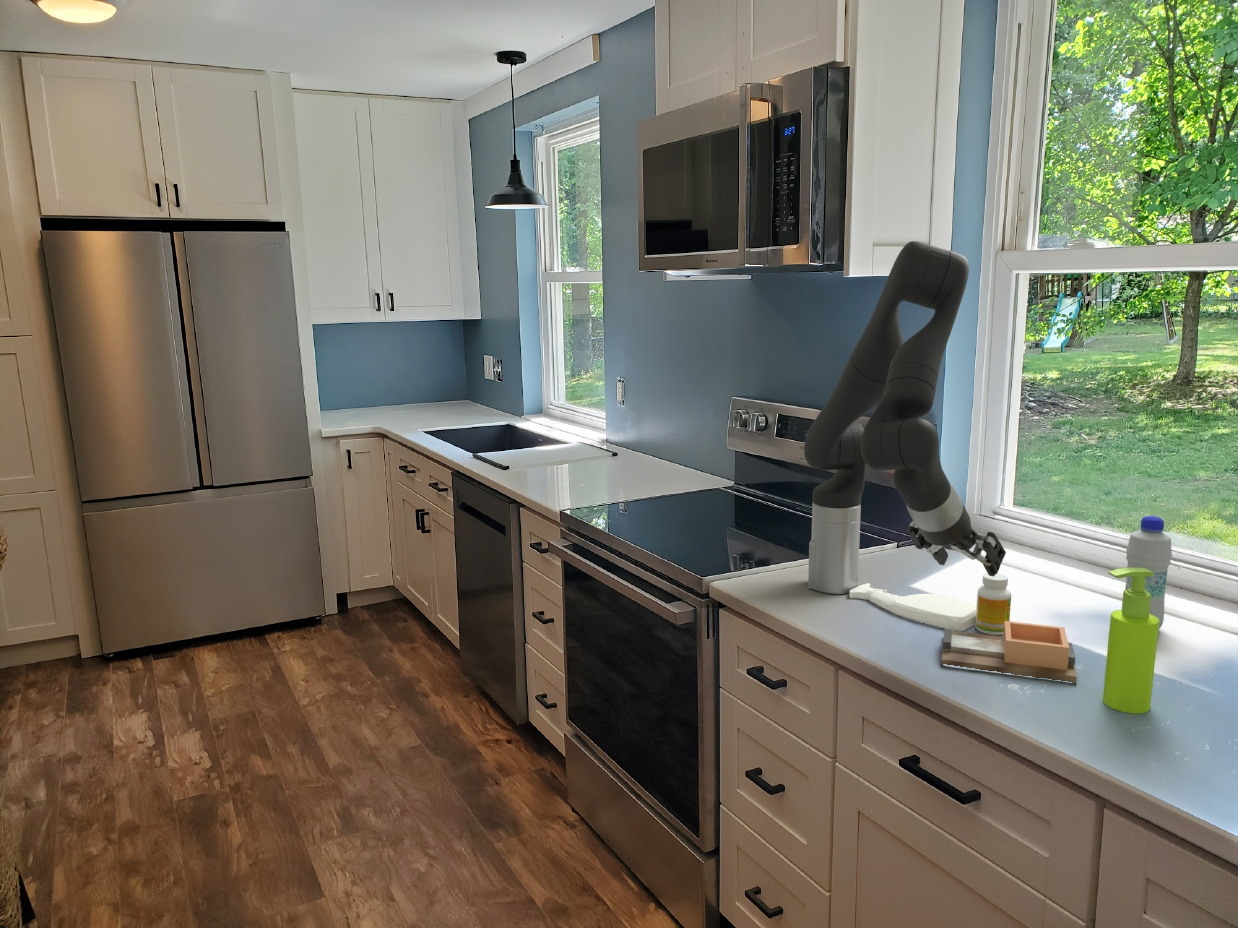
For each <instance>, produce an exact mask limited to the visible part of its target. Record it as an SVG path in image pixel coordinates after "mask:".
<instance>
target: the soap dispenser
mask: <svg viewBox="0 0 1238 928" xmlns="http://www.w3.org/2000/svg"><path fill="white" fill-rule="evenodd" d="M1107 573H1108V574H1109V575H1111V577H1114V578H1116V579H1122V578H1126V577H1128V576H1132V580H1131V588H1129V589H1126V590H1125V589H1124V590H1123V592H1122V601H1121V609H1118V610H1117V609H1116V610H1113V611H1112V612H1111V613H1110V621H1109V629H1108V641H1107V649H1106V650H1107V652H1106V662H1105V673H1104V683H1103V684H1104V685H1103V693H1102V694H1103V696H1102V702H1103V701H1104V702H1103V703H1104V704H1105V705H1106V704H1107V705H1106V706H1107V707H1109V708H1111V709H1113V710H1115V709H1116V711H1118V710H1119V712H1121V713H1122V712H1123V713H1128V714H1134V715H1135V714H1136V715H1137V714H1138V715H1139V714H1145V713H1148V712H1149V711H1150V710H1151V704H1152V693H1153V684H1154V674H1155V666H1156V655H1157V647H1158V645H1157V644H1158V637H1159V630H1160V629H1159V619H1158V618H1157V617H1155V616H1153V615H1151V614H1149V613H1150V603H1151V594H1150V593H1149V592H1147V591H1146V590H1145V582H1146V576H1153V572H1151V571H1149V570H1147V569H1145V568H1127V567H1121V568H1115V569H1113V570H1109V571H1108V572H1107ZM1158 629H1159V630H1158Z"/></svg>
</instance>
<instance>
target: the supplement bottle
mask: <svg viewBox="0 0 1238 928" xmlns="http://www.w3.org/2000/svg"><path fill="white" fill-rule="evenodd" d="M982 584H983V585H981V586H979V587H978V590H977V595H976V596H977V597H976V604H977V608H976V625H975V629H976V630H977V631H978V632H980V633H981V634H982V633H983V634H984V635H991V636H1004V623H1005V621H1010V619H1011V605H1012V592H1011V590H1010V589H1009V588H1008V584H1009V578H1008V576H1007V575H1004V574H1001V573H997V574H995V576H994V577H993V576H989V575H988V573H987V572H986V573H984V574H983V575H982Z"/></svg>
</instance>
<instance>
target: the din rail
mask: <svg viewBox="0 0 1238 928" xmlns="http://www.w3.org/2000/svg"><path fill="white" fill-rule="evenodd" d="M1068 644H1069V657H1068V666H1074V667H1075V665H1076V655H1075V651H1074V646H1073V643H1071V642H1068ZM943 650H946V651H954V652H962V653H970V654H978V655H986V656H994V657H1002V658H1004V641H1000V640H992V639H983V638H975V637H966V636H958V635H952V629H944V630H943V640H942V651H943Z"/></svg>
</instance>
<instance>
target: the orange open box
mask: <svg viewBox="0 0 1238 928" xmlns="http://www.w3.org/2000/svg"><path fill="white" fill-rule="evenodd" d="M1002 637H1003V641H1004V662H1007V663H1015V664H1023V665H1031V666H1038V667H1046V668H1054V669H1062V670H1067V669H1068V657H1069V644H1068V643H1069V641H1068V636H1067V633H1066V629H1065V627H1064V626H1063V627H1062V626H1054V625H1045V624H1038V623H1037V624H1036V623H1027V622H1020V621H1005V623H1004V635H1003V636H1002Z"/></svg>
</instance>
